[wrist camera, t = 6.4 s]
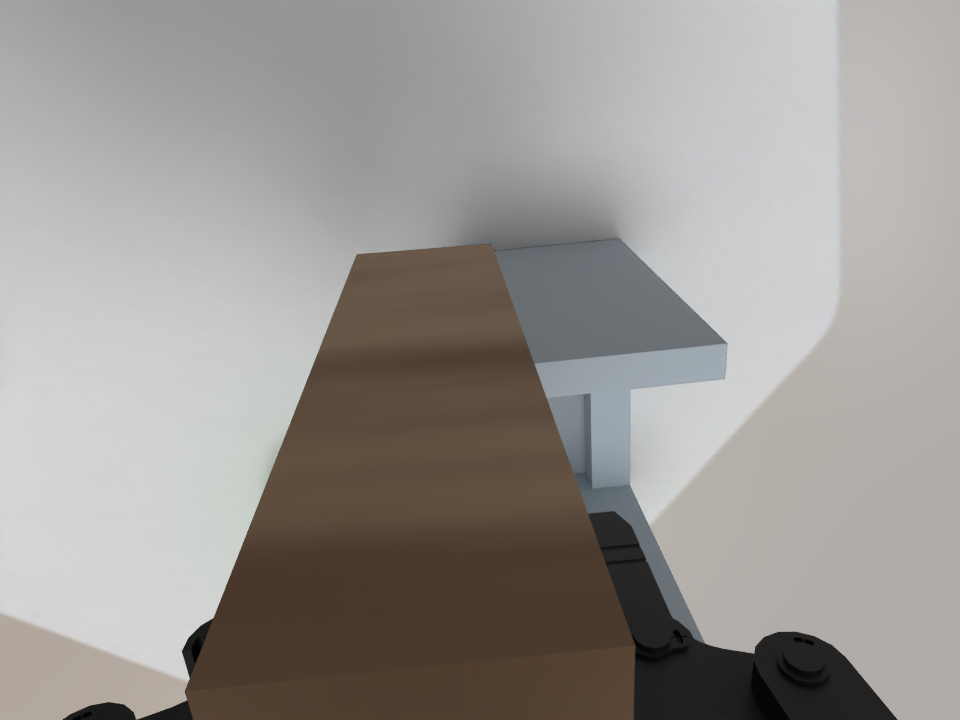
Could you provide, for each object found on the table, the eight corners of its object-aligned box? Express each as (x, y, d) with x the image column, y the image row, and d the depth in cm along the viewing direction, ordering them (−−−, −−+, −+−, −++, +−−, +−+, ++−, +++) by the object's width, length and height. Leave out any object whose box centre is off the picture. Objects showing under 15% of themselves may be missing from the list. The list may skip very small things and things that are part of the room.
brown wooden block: (356, 254, 16) (184, 690, 5) (491, 243, 16) (636, 645, 5) (404, 610, 20) (371, 1316, 8) (512, 599, 20) (621, 1282, 9)
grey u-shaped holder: (455, 254, 38) (474, 369, 25) (619, 238, 39) (727, 343, 25) (478, 497, 45) (503, 695, 31) (619, 482, 45) (705, 670, 32)
